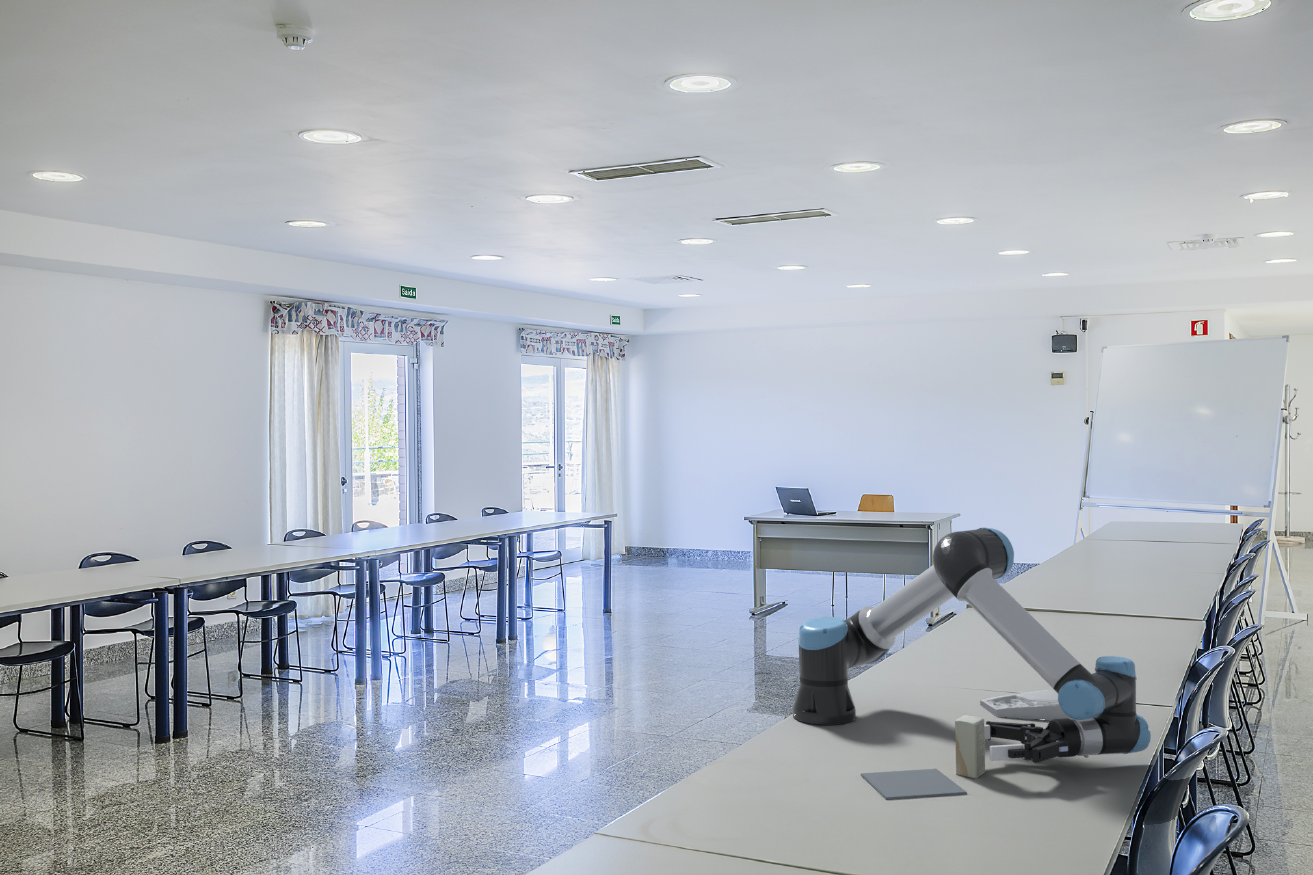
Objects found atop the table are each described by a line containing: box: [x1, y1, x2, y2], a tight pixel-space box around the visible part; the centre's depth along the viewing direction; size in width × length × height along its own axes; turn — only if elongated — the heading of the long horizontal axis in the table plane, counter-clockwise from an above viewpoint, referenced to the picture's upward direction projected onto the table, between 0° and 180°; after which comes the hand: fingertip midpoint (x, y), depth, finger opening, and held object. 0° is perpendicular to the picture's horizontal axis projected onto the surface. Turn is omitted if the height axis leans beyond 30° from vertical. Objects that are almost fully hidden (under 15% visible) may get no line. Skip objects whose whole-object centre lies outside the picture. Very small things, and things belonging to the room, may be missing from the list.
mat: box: [860, 768, 968, 800], centre depth 200 cm, size 14×16×1 cm
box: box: [954, 714, 986, 779], centre depth 206 cm, size 5×4×11 cm
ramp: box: [979, 688, 1071, 720], centre depth 249 cm, size 28×16×5 cm, turn 51°
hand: (974, 743), depth 205 cm, fingers open, 13 cm apart
